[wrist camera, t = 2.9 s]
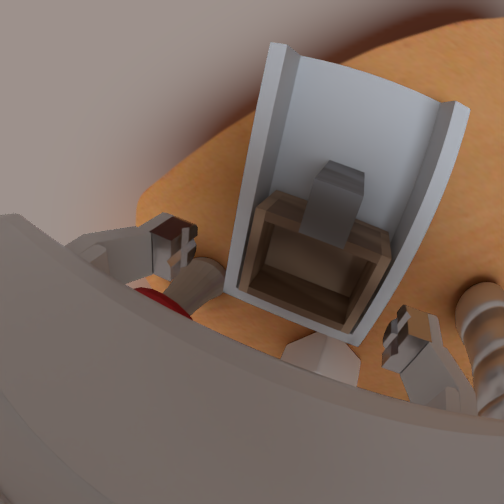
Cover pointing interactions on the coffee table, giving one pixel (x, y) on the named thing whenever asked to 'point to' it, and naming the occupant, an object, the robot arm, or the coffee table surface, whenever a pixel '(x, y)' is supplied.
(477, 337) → the plastic bottle
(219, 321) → the coffee table surface
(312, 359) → the medicine bottle
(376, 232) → the crate
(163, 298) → the decorative mushroom
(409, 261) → the bay
